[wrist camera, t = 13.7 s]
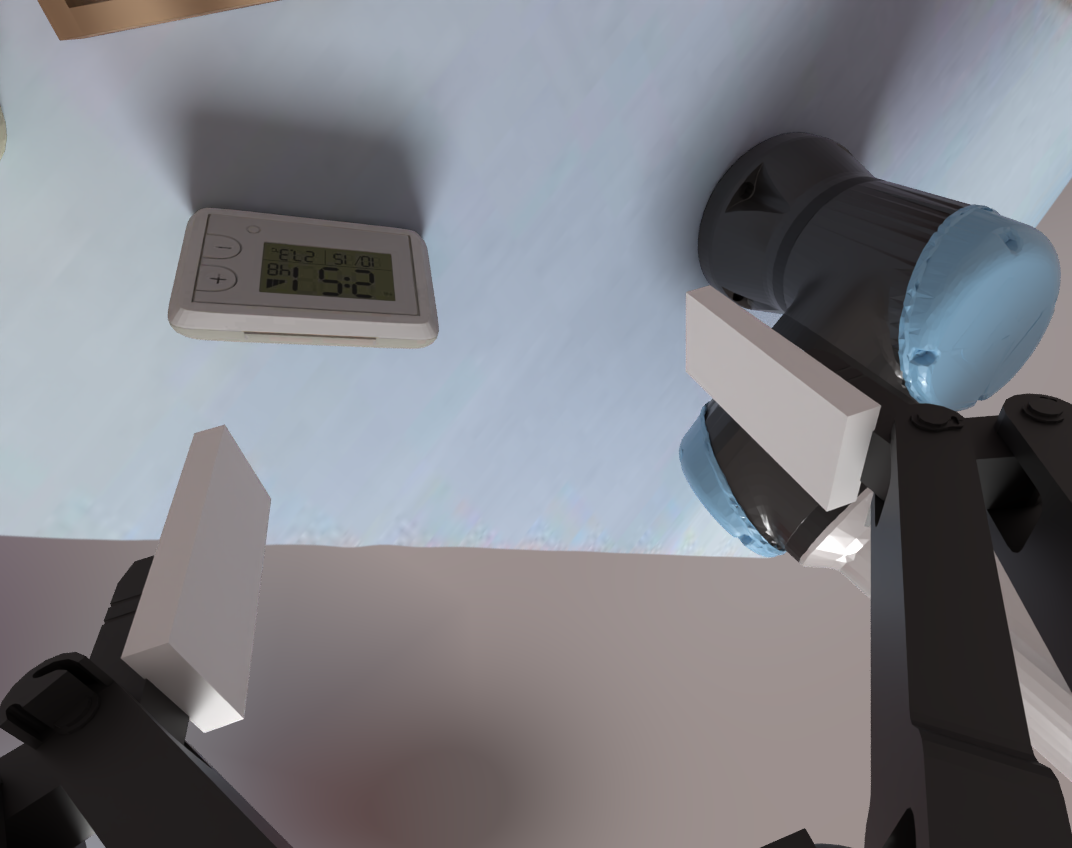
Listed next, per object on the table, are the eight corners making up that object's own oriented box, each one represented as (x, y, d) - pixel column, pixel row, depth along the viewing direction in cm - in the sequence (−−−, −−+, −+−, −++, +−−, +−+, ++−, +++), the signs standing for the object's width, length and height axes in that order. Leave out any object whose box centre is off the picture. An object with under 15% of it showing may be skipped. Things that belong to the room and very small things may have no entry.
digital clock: (435, 233, 45) (459, 283, 36) (404, 336, 49) (419, 401, 40) (197, 158, 38) (160, 197, 29) (184, 284, 42) (148, 351, 33)
